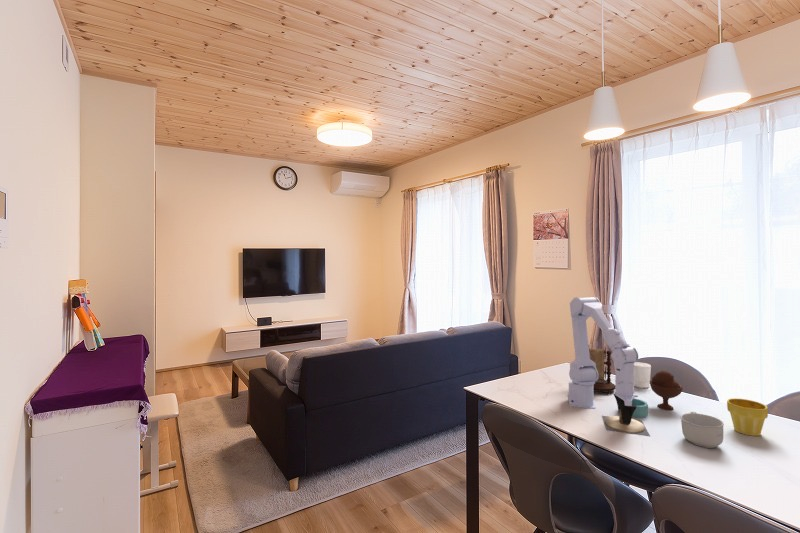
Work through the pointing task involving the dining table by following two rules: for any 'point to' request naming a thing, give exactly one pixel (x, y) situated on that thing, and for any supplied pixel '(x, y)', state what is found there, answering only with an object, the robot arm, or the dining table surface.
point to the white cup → (642, 374)
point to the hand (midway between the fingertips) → (624, 419)
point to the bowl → (640, 408)
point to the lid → (618, 424)
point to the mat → (625, 432)
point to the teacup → (702, 429)
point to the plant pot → (747, 415)
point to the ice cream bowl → (665, 388)
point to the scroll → (602, 370)
